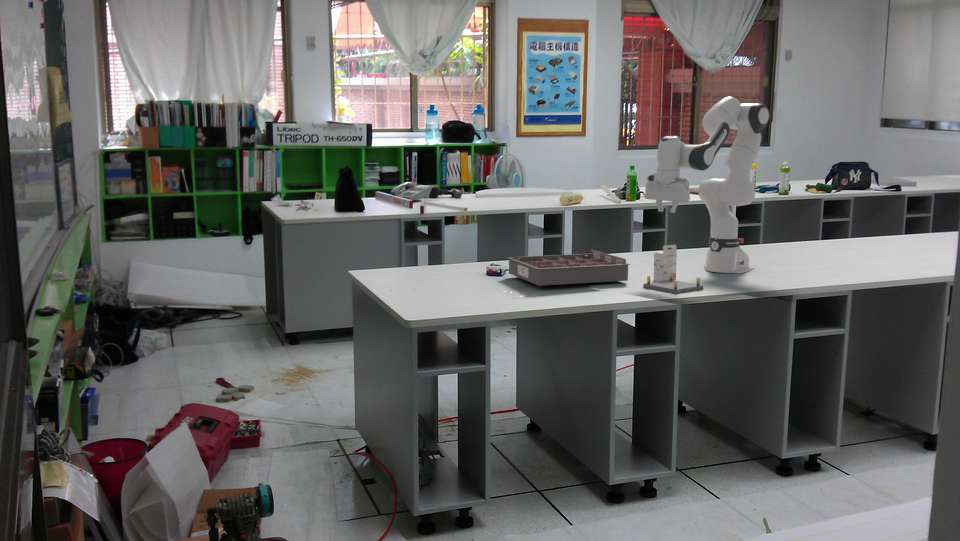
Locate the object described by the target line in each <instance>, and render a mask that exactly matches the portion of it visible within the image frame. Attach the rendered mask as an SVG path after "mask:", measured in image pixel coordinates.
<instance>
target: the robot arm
mask: <svg viewBox="0 0 960 541" xmlns="http://www.w3.org/2000/svg"><path fill="white" fill-rule="evenodd" d="M770 117H771V116H770V110H769V108H768V105H765V104H762V103H760V102H759V103H758V102H756V103H752V102H751V103H750V102H744V103H741V102H740V100H738V99H737V98H736V97H734V96H725V97H724V98H722V99H720V100H719V101H717V102H716V103H715V104H714V105H713V106H711V108H710V109H709V110H708V111H707V112H706V113H705V114H704V116H703V117H702V124H701V125H702V128H703V131H704V132H705V133H706V134H707V135H708V136H709V137H708V139H707V140H706V142H703V143H701V144H686V143H685V142H683V141H681V139H680V136H678V135H666V136H664V137H661V138H660V140H659V142H658V145H657V163H658V164H657V168H656V172H655V173H651V174H649V175H647V176H646V181H647V182H646V184H645V189H644V190H645V194H644V195H645V198H646V199H647V200H653V201H655V204H656V206H657V209H658V210H657V211H658V212H661V213H663V212H664V209H665V207H664V206H663V205H662V203H663V202H671V204H672V206H671V208H669V213H671V214H675V213H676V211H677V210H676V209H677V207H678V206H679V203H688V202H689V201H690V200H691V194H690V193H691V192H690V182H689V180H688V179H687V178H680V175H681V174H680V173H681V172H680V169H684V170H696V171H702V172H703V171H706V170H707V169H709V168H710V167H711V166H712V165H713V162H714V160H715V158H716V155H717V153H718V152H719V151H720V149H721V148H722V147H723V145H724V144H725V142H726V140H727V138H728V137H729V135H730V131H733V130H735V131H737V133H736V134H737V135H736V137H735V139H734V141H733V142H732V144H731V147H730V149H729V151H728V154H727V156H726V158H725V160H724V167H725V169H726V170H727V171H728V173H729V175H728V177H727V178H719V177H718V178H716V177H713V178H709V179H704V180H703V181H701V182H700V184H699V187H698V196H699V199H700V200H701V201H702V202H703V203H704V205H705V206H706V208H707V210H708V213H709V217H710V236H709V238H708V239H709V240H708V246H709V248H708V249H707V253H706V259H705V265H703V269H704V270H705V271H708V272H712V273H713V272H714V273H720V274H723V273H724V274H743V273H747V272H749V271H753V270H755V267H754V266H750V256H749V255H748V253H746V252H745V251H744V250H743V248H741V247H740V246H741V245H740V244H744V238H738V231H739V220H738V217H736V216H735V215H734V214H733V213H732V212H731V209H730V206H734V207H741V206H742V207H743V206H748V205H750V204H751V203H752V202H753V201H754V199H755V197H756V188H755V186H754V184H753V183H752V181H751V178H750V177H751V176H750V175H751V170H752V168H753V165H754V163H755V160H756V158H757V155H758V152H759V150H760V146H761V142H762V132H763V131H764V130H765V128H766V127H767V125H768V122H769V120H770Z"/></svg>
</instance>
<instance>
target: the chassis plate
mask: <svg viewBox="0 0 960 541" xmlns="http://www.w3.org/2000/svg"><path fill="white" fill-rule="evenodd" d="M646 277H647V278H646V283H643V284H642V287H643V288H644V289H650V290H655V291H660V292H665V293H670V294H676V295H678V294H681V293H689V292H694V291H700V290H704V285H703V284H701V277H700V276H699V277H698V276H697V277H696V283H692V282H686V281H681V280H677V279H676V280H673V273H670V280H665V281H653V282H652V281H651V275H647V276H646Z"/></svg>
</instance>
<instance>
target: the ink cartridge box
mask: <svg viewBox="0 0 960 541" xmlns="http://www.w3.org/2000/svg"><path fill="white" fill-rule="evenodd" d="M669 248H670V249H669ZM677 254H678V252H677V244H668V245H663V246H662V250H661V251H655V252H653V255H654V256H653V282H658V281H665V280H670V273H673V280H676V281H677V278H676V277H677V259H678V258H677V257H678V256H677Z"/></svg>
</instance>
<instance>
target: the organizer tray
mask: <svg viewBox="0 0 960 541" xmlns="http://www.w3.org/2000/svg"><path fill="white" fill-rule="evenodd" d="M506 259H507V260H508V274H510V275H511V276H514V277H517V278H519V279H522V280H523V281H526V282H529V283H531V284H534V285H536V286H554V285H555V286H557V285H559V286H560V285H572V284H573V285H576V284H590V283H608V282H609V283H610V282H612V283H613V282H625V281H628V280H629V266H631V264H630V263H627V259H626V258H623V257H619V256H617V255H613V254H610V253H609V254H608V253H606V252H602V251H598V250H594V249H591V250H590V253H574V254H573V253H571V254H570V253H569V254H556V255H555V254H553V255H530V256H529V255H527V256H510V257H506Z"/></svg>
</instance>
